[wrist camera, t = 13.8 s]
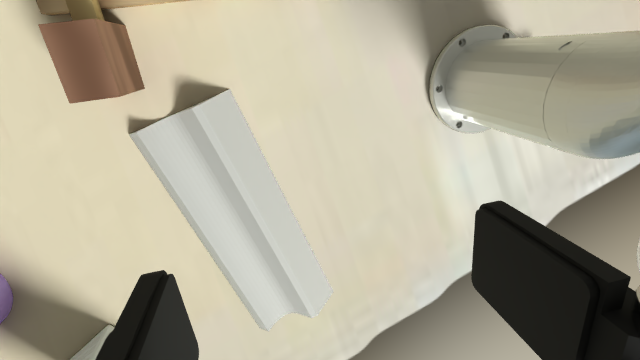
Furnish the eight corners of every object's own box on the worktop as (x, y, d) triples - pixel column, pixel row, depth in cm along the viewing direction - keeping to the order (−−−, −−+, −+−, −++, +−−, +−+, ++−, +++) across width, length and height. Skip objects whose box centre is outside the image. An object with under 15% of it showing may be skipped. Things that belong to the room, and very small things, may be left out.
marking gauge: (88, -95, 29) (41, -137, 22) (144, 88, 35) (120, 96, 28) (38, -92, 28) (-25, -134, 22) (104, 94, 34) (69, 103, 28)
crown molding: (133, 131, 37) (121, 139, 33) (233, 86, 37) (231, 89, 34) (260, 322, 49) (261, 342, 45) (334, 287, 49) (340, 304, 46)
